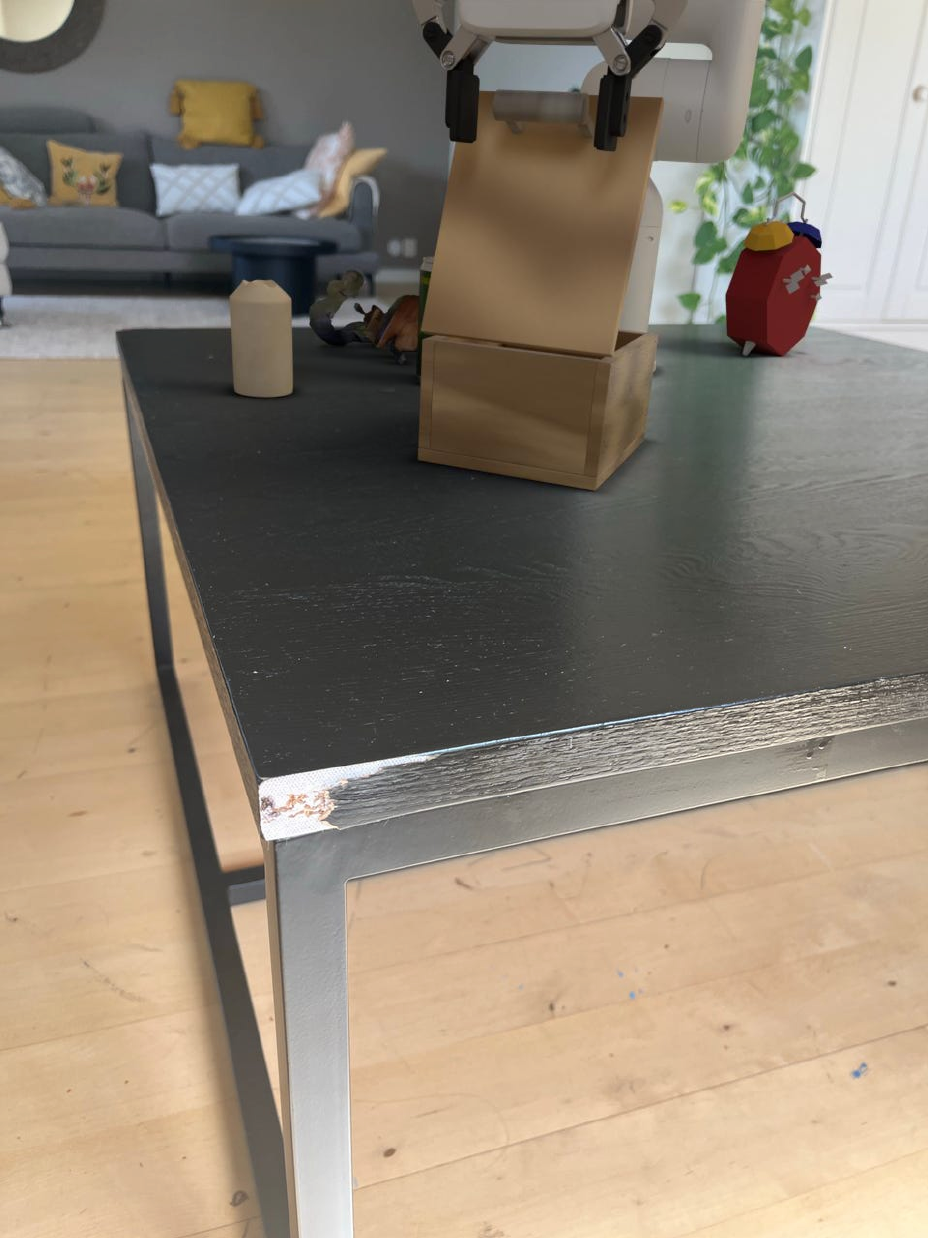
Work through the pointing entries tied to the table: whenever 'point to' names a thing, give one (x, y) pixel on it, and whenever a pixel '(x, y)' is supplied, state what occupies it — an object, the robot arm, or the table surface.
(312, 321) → the figurine
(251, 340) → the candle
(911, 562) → the table surface
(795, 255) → the alarm clock
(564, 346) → the lid
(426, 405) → the chest
